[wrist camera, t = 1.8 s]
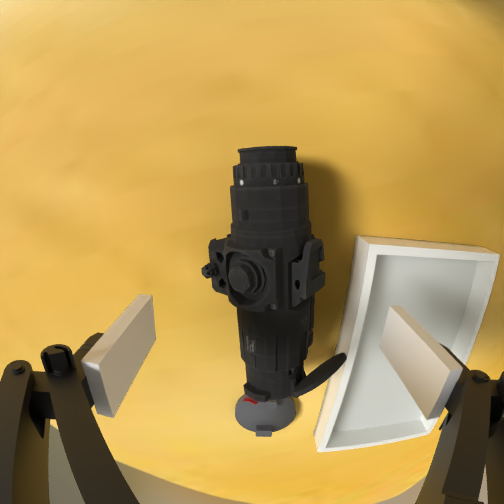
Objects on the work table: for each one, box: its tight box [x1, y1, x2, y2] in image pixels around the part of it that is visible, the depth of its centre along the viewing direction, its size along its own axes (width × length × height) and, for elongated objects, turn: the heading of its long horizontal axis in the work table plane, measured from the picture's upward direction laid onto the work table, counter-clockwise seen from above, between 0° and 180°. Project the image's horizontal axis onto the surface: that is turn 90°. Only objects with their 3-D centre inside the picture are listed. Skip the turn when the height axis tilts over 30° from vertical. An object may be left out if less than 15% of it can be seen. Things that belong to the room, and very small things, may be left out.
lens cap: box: [235, 394, 296, 437], centre depth 26 cm, size 6×6×2 cm
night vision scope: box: [202, 146, 347, 405], centre depth 20 cm, size 8×18×10 cm
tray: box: [314, 235, 500, 452], centre depth 24 cm, size 22×14×3 cm, turn 177°
